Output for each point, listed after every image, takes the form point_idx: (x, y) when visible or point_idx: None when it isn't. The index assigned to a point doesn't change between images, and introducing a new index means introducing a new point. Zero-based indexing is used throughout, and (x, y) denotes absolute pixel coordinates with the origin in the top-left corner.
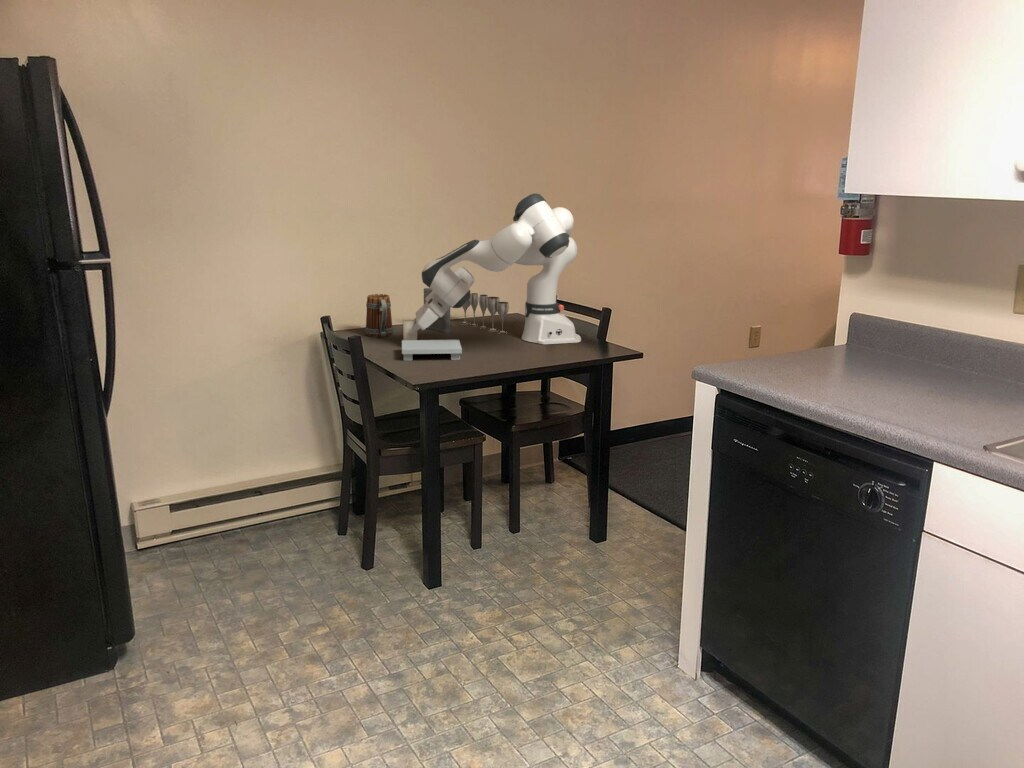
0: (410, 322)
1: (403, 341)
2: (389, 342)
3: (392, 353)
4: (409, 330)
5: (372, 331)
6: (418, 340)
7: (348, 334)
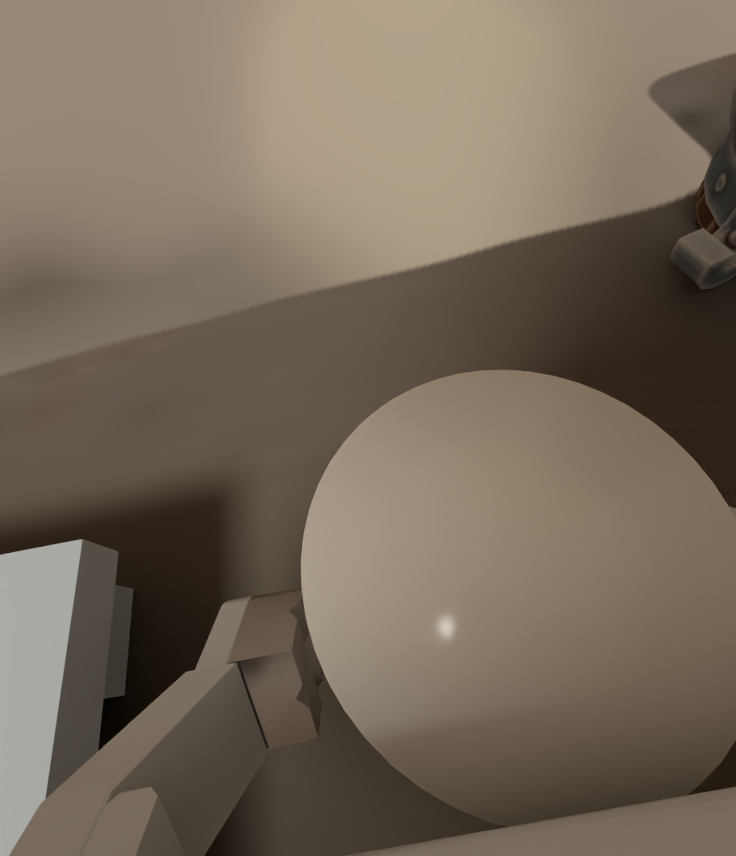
0: (305, 601)
1: (3, 575)
2: (541, 372)
3: (98, 489)
4: (225, 612)
5: (717, 165)
6: (12, 844)
7: (702, 83)
